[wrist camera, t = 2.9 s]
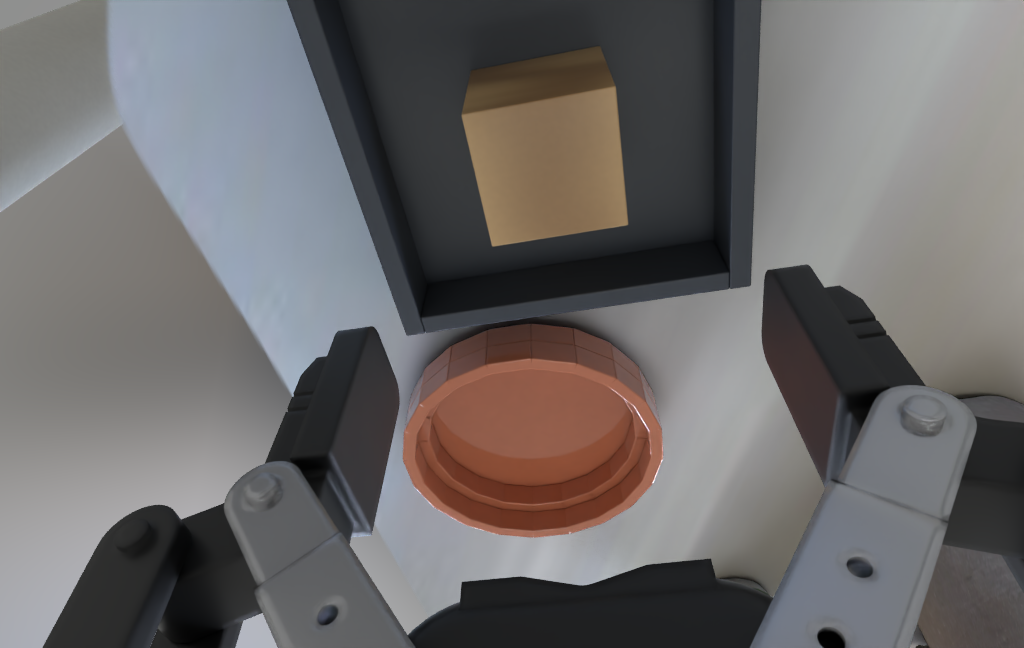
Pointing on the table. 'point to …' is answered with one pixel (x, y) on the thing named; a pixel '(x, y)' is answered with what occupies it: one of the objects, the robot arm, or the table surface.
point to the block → (546, 146)
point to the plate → (532, 431)
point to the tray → (450, 173)
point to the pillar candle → (975, 579)
